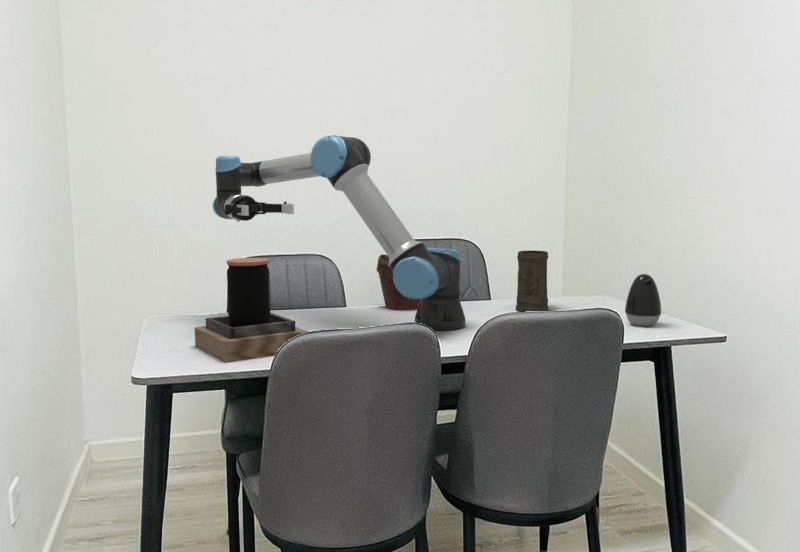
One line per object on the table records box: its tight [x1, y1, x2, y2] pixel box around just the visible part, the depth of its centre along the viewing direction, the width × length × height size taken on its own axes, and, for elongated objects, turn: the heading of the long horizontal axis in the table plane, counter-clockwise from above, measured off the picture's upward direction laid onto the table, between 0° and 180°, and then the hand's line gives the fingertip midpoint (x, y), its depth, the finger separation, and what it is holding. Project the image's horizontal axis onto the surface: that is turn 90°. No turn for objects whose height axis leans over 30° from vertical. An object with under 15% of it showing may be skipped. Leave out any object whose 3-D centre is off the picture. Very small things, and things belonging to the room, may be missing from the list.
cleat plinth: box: [194, 312, 309, 363], centre depth 196 cm, size 22×22×8 cm
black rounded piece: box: [624, 273, 662, 328], centre depth 223 cm, size 10×10×15 cm
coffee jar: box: [226, 257, 271, 328], centre depth 195 cm, size 11×11×18 cm
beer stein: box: [515, 250, 549, 313], centre depth 251 cm, size 15×11×20 cm
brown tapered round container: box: [376, 254, 420, 311], centre depth 257 cm, size 18×20×18 cm
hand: (270, 209), depth 210 cm, fingers open, 13 cm apart
